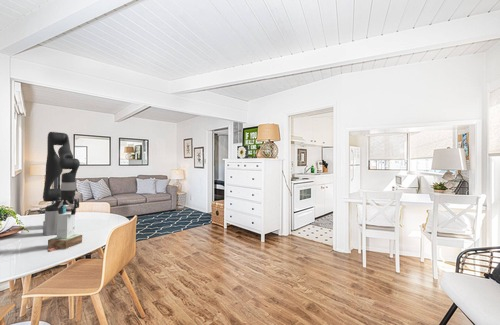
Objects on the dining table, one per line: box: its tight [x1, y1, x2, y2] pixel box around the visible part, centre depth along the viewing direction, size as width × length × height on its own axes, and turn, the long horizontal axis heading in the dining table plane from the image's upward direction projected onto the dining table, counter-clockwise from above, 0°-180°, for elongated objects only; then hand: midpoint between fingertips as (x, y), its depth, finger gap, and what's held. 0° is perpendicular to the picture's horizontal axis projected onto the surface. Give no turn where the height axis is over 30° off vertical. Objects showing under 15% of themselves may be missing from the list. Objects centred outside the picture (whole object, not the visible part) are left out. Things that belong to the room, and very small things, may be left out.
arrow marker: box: [47, 247, 58, 252], centre depth 134 cm, size 6×3×1 cm, turn 175°
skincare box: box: [56, 212, 76, 239], centre depth 142 cm, size 8×6×15 cm
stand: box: [47, 233, 83, 250], centre depth 142 cm, size 12×12×5 cm
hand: (66, 214), depth 142 cm, fingers open, 8 cm apart
